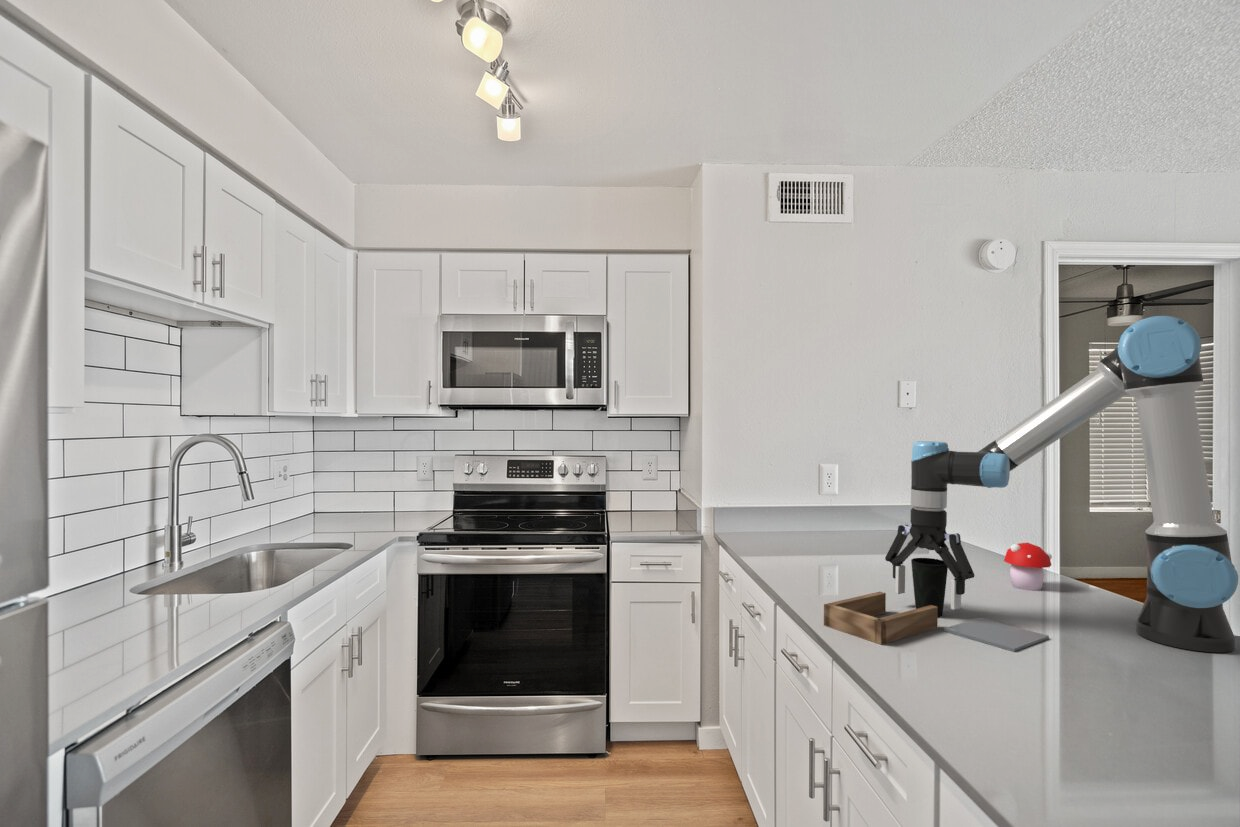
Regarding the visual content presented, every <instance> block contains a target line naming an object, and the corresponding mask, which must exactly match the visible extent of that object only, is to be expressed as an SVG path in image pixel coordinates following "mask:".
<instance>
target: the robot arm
mask: <svg viewBox="0 0 1240 827" xmlns="http://www.w3.org/2000/svg"><path fill="white" fill-rule="evenodd" d="M1119 338H1120V339H1119V340H1118V345H1117V346H1116V348H1114V349H1113V350H1112V351H1111V352H1110V353H1108V354H1107V355H1106V356H1105V357H1104V358H1102V359H1100V360H1099V361H1098V362H1097V368H1096V369H1095V370H1094V371H1092V372H1091V373H1089V374H1088V375H1087V376H1085V377H1084V378H1082V379H1080V380H1079V381H1078V382H1076V383H1075V384H1073V385H1072V386H1070V387H1069V388H1067V389H1066V390H1065V391H1063V392H1062V393H1061V394H1059V395H1057V396H1056V397H1055V398H1053V399H1052V400H1051V401H1049V402H1048V403H1046V404H1045V405H1043V406H1042V407H1040V408H1039V409H1038V410H1036V411H1035V412H1033V413H1032V414H1030V415H1028V417H1026V418H1024V419H1023V420H1022V421H1020V422H1019V423H1017V424H1016V425H1014V426H1013V427H1012V428H1011V429H1009V430H1008V431H1006V432H1005V433H1003V434H1002V435H1000V436H999V437H997V438H996V439H994V440H993V441H992V442H990V443H988V444H986V446H984V447H983V448H982V449H979V451H955V450H950V448H949V445H948V443H947V442H946V441H928V440H926V441H925V440H923V441H922V440H921V441H915V442H914V443H913V444H912V450H911V452H912V453H911V459H910V462H911V465H910V466H911V471H910V472H911V474H910V475H911V476H910V478H911V486H910V487H911V488H910V505H911V507H912V508H911V509H910V524H911V526H909V525H908V524H901V525H898V527H897V532H896V533H897V534H896V535H895V538H894V540H893V542H892V543H891V546H890V547H889V550H888V552H887V554H886V556H885V557H884V559H885V561H886V562H890V563H891V564H892V578H893V579H895V581H894V582H895V583H894V585H895V587H894V588H895V589H894V594H895V595H900V594H905V593H906V565H905V564H904V562H905V561H906V560H907V559H908V558H909V557H910V556H911V555H912V554H913V553H914V552H915V551H916V550H917V549H918V548H919V549H926V550H928V551H935V553H936V554H938V555H939V556H940V558H941V560H943V561H944V563H945V564H946V566H947V567H948V570H949V572H950V573H951V575H952V576H953V577H954V578H951V579H950V580H951V581H950V584H951V586H950V587H951V588H950V610H958V609H961V608H962V595H964V594H965V593H966V580H970V579H973V578H975V573H974V570H973V569H972V568H973V567H972V565H971V564H970V561H969V559H968V556H967V554H966V552H965V549H964V548H963V545H962V541H961V534H960V533H959V532H956V533H948V532H947V531H946V529H947V526H948V525H947V523H948V522H947V517H948V514H947V513H948V512H947V511H946V510H945V509H947V507H948V506H947V505H948V484H949V485H958V486H960V485H961V486H971V487H972V486H973V487H981V488H982V487H983V488H987V489H991V488H1000V489H1002V488H1006V487H1007V486H1008V485H1009V481H1010V475H1011V471H1013V470H1014V469H1015V468H1017V467H1019V466H1020V465H1021V464H1023V463H1024V462H1026V461H1028V460H1029V459H1031V458H1033V457H1034V456H1035V455H1037V454H1038V453H1040V452H1041V451H1043V450H1045V449H1046V448H1048V447H1049V446H1051V445H1052V444H1053V443H1055V442H1057V441H1058V440H1060V439H1061V438H1062V437H1064V436H1066V435H1067V434H1069V433H1071V432H1073V431H1074V430H1075V429H1076V428H1078V427H1080V426H1081V425H1082V424H1085V422H1087V421H1089V420H1090V419H1092V418H1093V417H1094V416H1096V415H1098V414H1100V413H1101V412H1102V411H1104V410H1105V409H1107V408H1108V407H1110V406H1111V405H1112V404H1114V403H1116V402H1117V401H1119V400H1120V399H1122V398H1124V397H1125V396H1126V397H1127V396H1128V397H1129V396H1130V397H1133V399H1135V403H1136V410H1137V411H1136V412H1137V417H1138V424H1139V429H1140V436H1141V443H1142V450H1143V451H1142V452H1143V455H1144V456H1143V457H1144V464H1145V470H1146V476H1147V478H1146V479H1147V484H1148V489H1149V490H1148V491H1149V497H1150V503H1151V512H1152V517H1153V522H1152V523H1151V525H1150V526H1148V527H1147V529H1145V541H1146V552H1147V553H1146V555H1147V556H1146V561H1147V562H1146V599H1145V600H1144V602H1143V605H1142V608H1141V610H1140V612H1139V614H1138V617H1137V619H1136V621H1135V625H1136V626H1135V627H1136V633H1137V634H1138V635H1139V636H1140V637H1143V638H1145V639H1147V640H1150V641H1152V642H1155V643H1158V644H1162V645H1165V646H1169V647H1173V648H1177V649H1178V648H1179V649H1184V650H1191V651H1198V652H1203V653H1204V652H1206V653H1230V652H1232V651H1234V650H1235V649H1236V638H1235V635H1234V632H1233V629H1232V627H1231V624H1230V621H1229V620H1228V617H1227V615H1226V613H1225V610H1224V606H1223V605H1224V603H1226V602H1227V601H1229V600H1230V599H1231V598H1232V597H1233V596H1234V595H1235V593H1236V591H1237V588H1238V584H1239V575H1238V571H1237V570H1236V568H1235V565H1234V564H1233V561H1232V555H1231V550H1230V543H1229V539H1228V538H1229V537H1228V531H1227V530H1226V529H1225V528H1223V527H1222V526H1220V525H1219V524H1217V523H1216V521H1214V520H1215V518H1214V514H1213V507H1212V506H1213V505H1212V500H1211V494H1210V488H1209V482H1208V475H1207V469H1206V468H1207V467H1206V463H1205V456H1204V447H1203V442H1202V438H1201V437H1202V436H1201V430H1200V423H1199V416H1198V410H1197V404H1196V399H1195V394H1196V391H1197V390H1198V389H1199V388H1201V386H1202V385H1204V378H1203V377H1204V376H1203V372H1202V365H1201V358H1200V354H1201V352H1202V350H1201V349H1202V341H1201V340H1202V339H1201V336H1200V334H1199V333H1198V331H1197V330H1196V329H1195V327H1193V326H1192V325H1191V324H1190V323H1188V322H1187V321H1185V320H1183V319H1181V318H1178V317H1175V316H1171V315H1170V316H1169V315H1155V316H1150V317H1146V318H1142V319H1141V320H1138V321H1135V323H1132V324H1131V325H1129V326H1128V327H1127V328H1126V329H1125V330H1124V331H1123V332H1122V334H1121V336H1120V337H1119ZM909 535H910V536H911V537H912V539H910V540H909V541H908V543H907V545H905V547H904V548H903V549H902V547H903V546H904V543H905V542H906V539H907V538H908V536H909ZM946 541H947V543H949V546H950V549H951V551H952V553H951V552H950V549H949V547H948V545H947V544H946V543H945V542H946ZM901 549H902V550H901ZM952 554H953V555H952Z"/></svg>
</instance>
